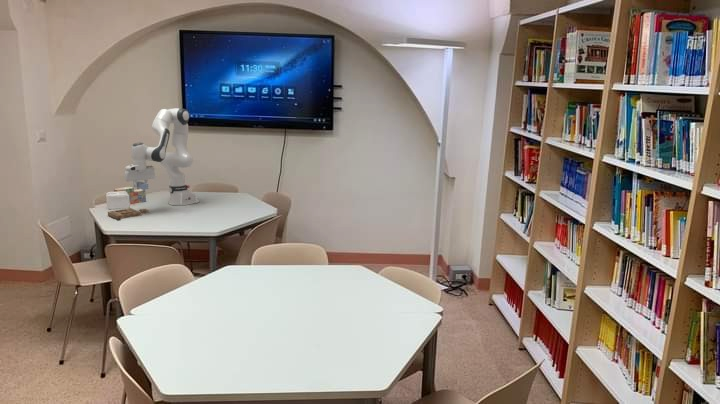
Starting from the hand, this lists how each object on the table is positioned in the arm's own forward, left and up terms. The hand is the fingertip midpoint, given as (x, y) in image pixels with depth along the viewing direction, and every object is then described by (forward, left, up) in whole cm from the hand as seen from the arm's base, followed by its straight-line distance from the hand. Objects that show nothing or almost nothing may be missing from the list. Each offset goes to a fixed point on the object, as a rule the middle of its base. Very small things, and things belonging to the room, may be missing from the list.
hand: (140, 186), depth 353 cm
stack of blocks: (-7, -37, -20) cm, 42 cm away
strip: (0, 0, -3) cm, 3 cm away
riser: (-1, 0, -19) cm, 19 cm away
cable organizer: (+6, -25, -20) cm, 32 cm away
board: (+12, 0, -19) cm, 23 cm away
